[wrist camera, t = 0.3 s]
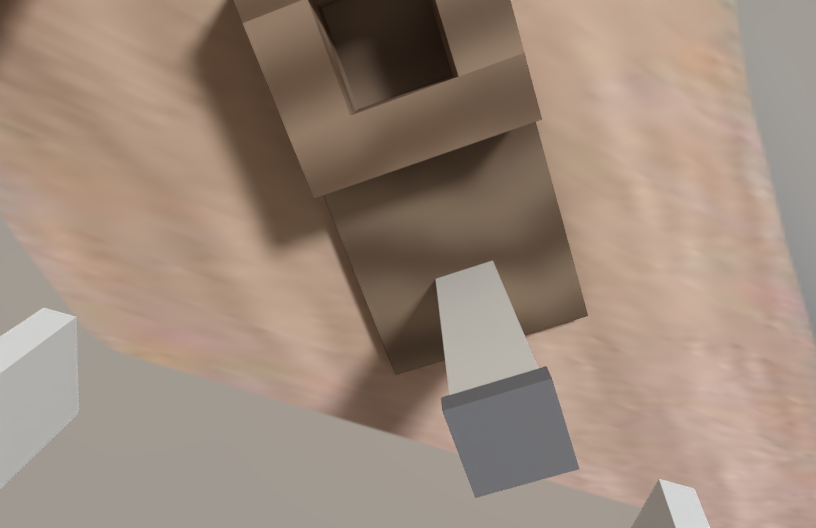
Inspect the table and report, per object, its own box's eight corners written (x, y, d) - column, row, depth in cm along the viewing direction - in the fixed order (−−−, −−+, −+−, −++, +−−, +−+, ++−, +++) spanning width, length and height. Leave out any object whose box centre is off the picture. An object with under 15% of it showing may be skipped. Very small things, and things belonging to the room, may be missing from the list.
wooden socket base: (227, -55, 33) (189, -80, 28) (458, -150, 32) (469, -197, 26) (395, 367, 42) (393, 414, 36) (583, 310, 41) (611, 349, 35)
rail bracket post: (429, 276, 39) (442, 411, 24) (495, 254, 38) (551, 378, 23) (450, 335, 40) (475, 497, 25) (514, 315, 40) (579, 469, 25)
